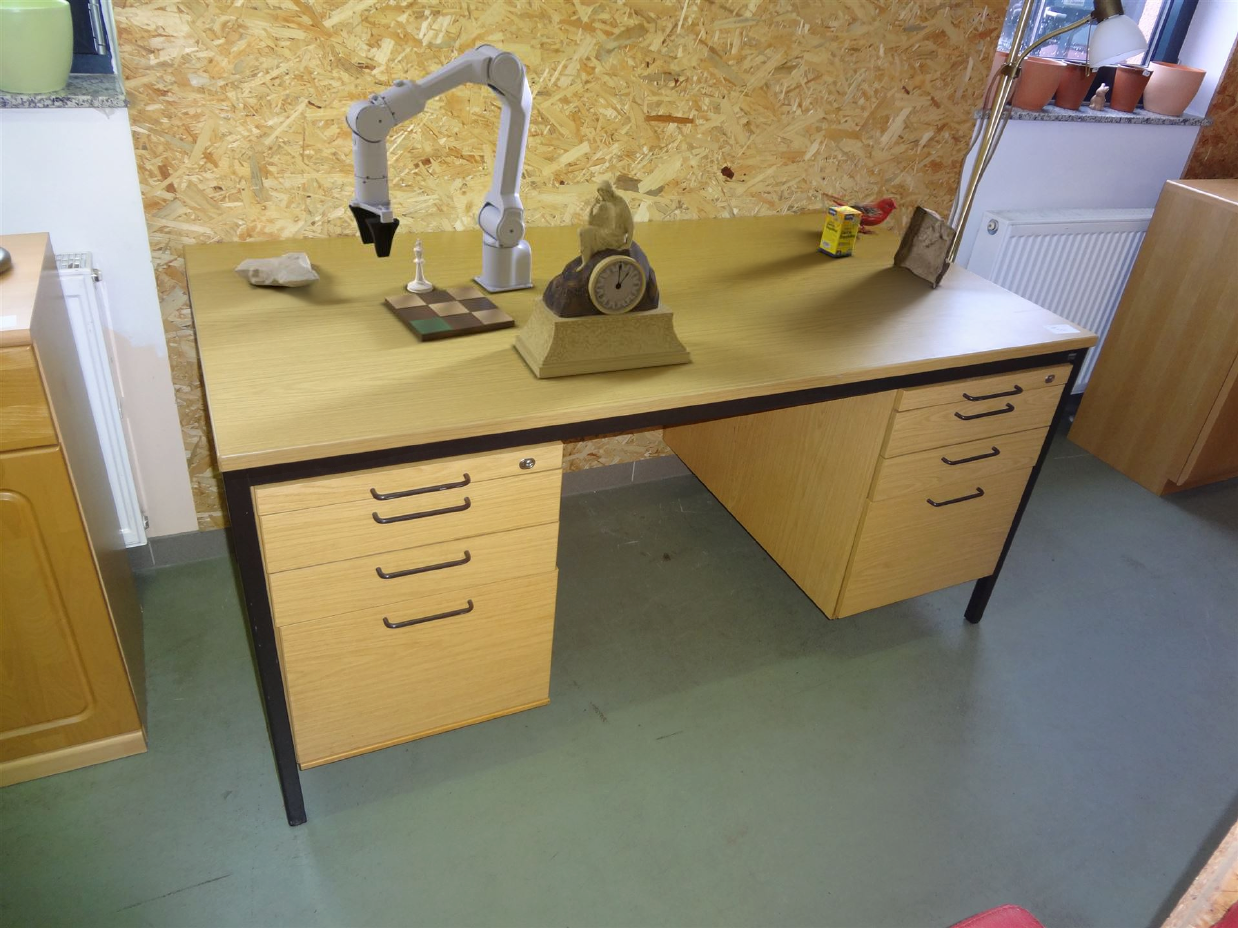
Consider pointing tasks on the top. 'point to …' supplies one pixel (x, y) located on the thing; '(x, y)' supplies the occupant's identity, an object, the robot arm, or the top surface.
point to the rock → (279, 271)
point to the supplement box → (840, 231)
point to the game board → (448, 313)
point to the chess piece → (419, 273)
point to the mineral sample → (926, 245)
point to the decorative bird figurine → (873, 212)
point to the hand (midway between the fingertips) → (375, 250)
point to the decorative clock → (601, 304)
